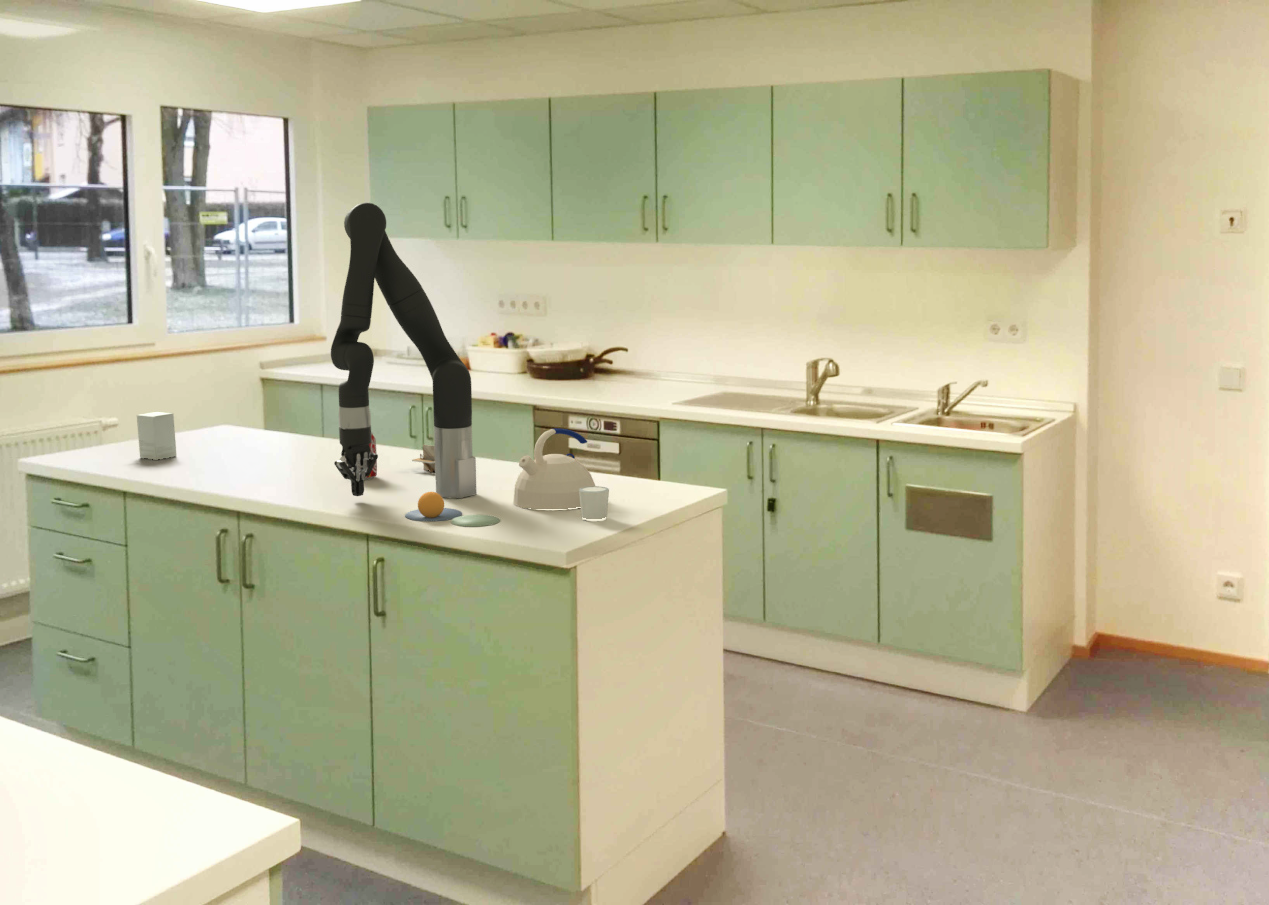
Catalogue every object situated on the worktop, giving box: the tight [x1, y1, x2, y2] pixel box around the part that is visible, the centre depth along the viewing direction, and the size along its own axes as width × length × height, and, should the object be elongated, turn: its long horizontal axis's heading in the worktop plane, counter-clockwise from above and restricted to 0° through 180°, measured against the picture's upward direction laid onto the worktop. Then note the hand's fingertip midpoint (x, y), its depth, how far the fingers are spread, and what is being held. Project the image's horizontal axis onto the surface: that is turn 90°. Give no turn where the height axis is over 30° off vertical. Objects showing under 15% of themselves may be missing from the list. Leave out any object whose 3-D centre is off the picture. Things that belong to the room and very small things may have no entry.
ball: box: [417, 491, 445, 518], centre depth 298 cm, size 6×6×6 cm
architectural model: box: [411, 444, 435, 473], centre depth 351 cm, size 3×7×7 cm, turn 60°
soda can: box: [364, 431, 378, 481], centre depth 343 cm, size 7×7×12 cm
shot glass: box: [579, 485, 610, 519], centre depth 297 cm, size 7×7×7 cm
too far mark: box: [450, 514, 501, 528], centre depth 296 cm, size 11×11×1 cm
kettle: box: [512, 428, 596, 509], centre depth 314 cm, size 20×21×18 cm
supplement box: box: [136, 411, 177, 461], centre depth 373 cm, size 7×7×13 cm
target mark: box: [404, 507, 463, 522], centre depth 302 cm, size 13×13×1 cm
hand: (357, 495), depth 316 cm, fingers closed
